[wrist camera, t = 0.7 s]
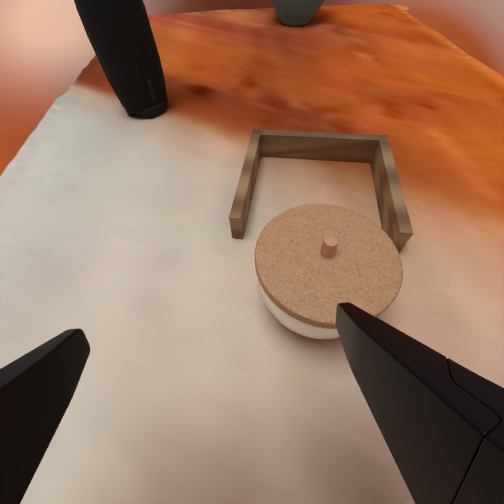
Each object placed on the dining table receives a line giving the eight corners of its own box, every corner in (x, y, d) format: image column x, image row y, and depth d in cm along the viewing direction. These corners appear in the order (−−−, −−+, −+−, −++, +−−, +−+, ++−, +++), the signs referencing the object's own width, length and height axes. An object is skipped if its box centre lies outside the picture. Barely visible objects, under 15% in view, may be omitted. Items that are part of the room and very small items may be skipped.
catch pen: (398, 253, 28) (413, 233, 25) (232, 237, 30) (229, 217, 27) (378, 158, 38) (387, 135, 35) (253, 151, 40) (253, 129, 37)
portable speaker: (120, 105, 50) (54, -48, 34) (167, 95, 52) (125, -55, 36) (125, 126, 46) (51, -40, 30) (177, 114, 47) (133, -49, 32)
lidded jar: (289, 239, 30) (298, 172, 22) (382, 283, 26) (432, 221, 18) (235, 314, 25) (222, 260, 17) (341, 381, 21) (385, 351, 13)
